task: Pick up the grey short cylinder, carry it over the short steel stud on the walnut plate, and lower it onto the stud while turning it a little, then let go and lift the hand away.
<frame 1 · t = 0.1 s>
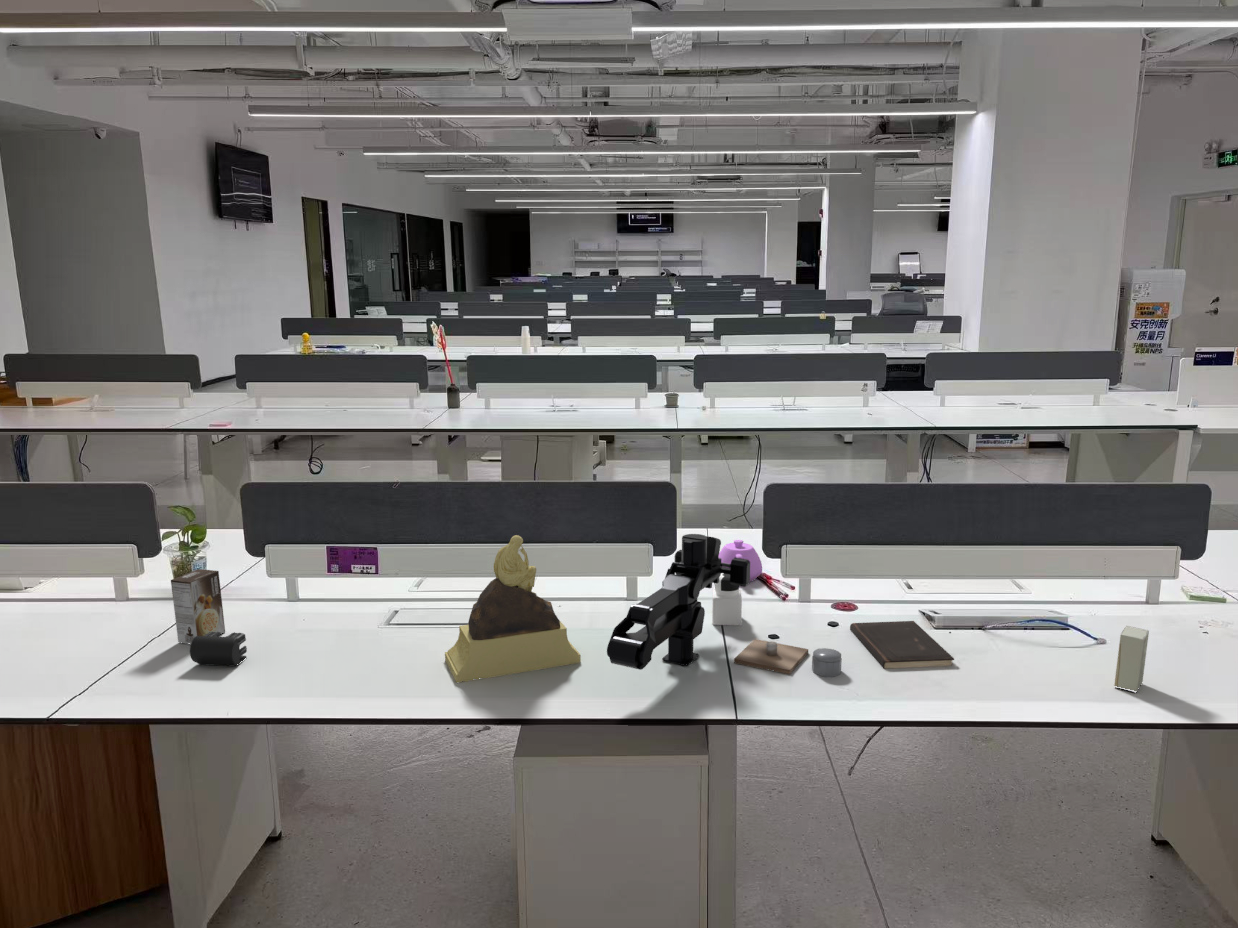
hand: (725, 558, 228), 17 cm above the table, tool horizontal, fingers open, 9 cm apart
teapot: (737, 575, 268), on the table
coffee box: (202, 638, 225), on the table
medicine bottle: (726, 621, 233), on the table
grey short cylinder: (826, 670, 203), on the table
stud plate: (771, 657, 210), on the table
seated figure statue: (512, 662, 209), on the table
end cap: (220, 664, 210), on the table
hardcover book: (899, 649, 216), on the table
skincare box: (1128, 687, 194), on the table
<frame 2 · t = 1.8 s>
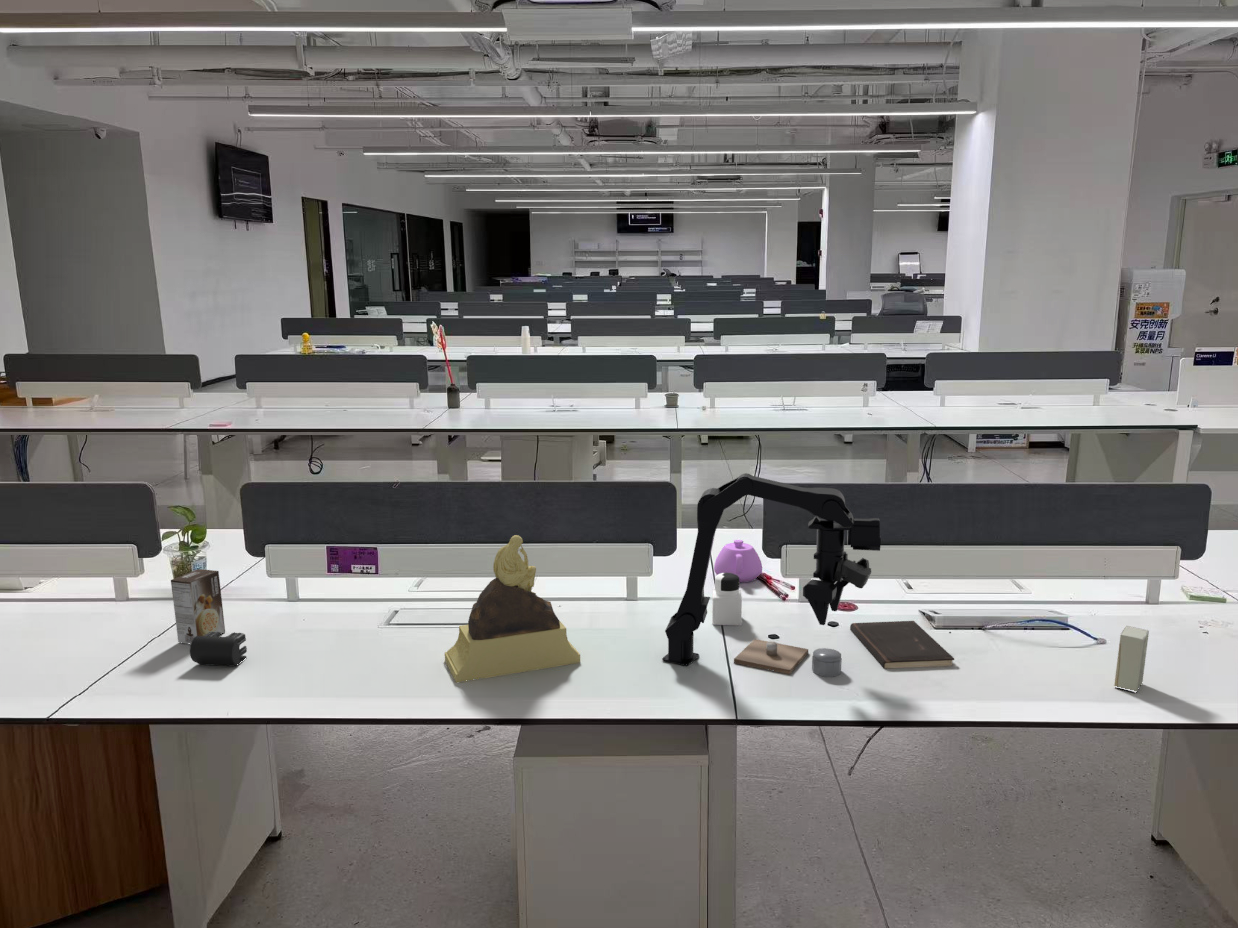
hand: (828, 617, 200), 12 cm above the table, tool pointing down, fingers open, 9 cm apart
nothing on the table moved.
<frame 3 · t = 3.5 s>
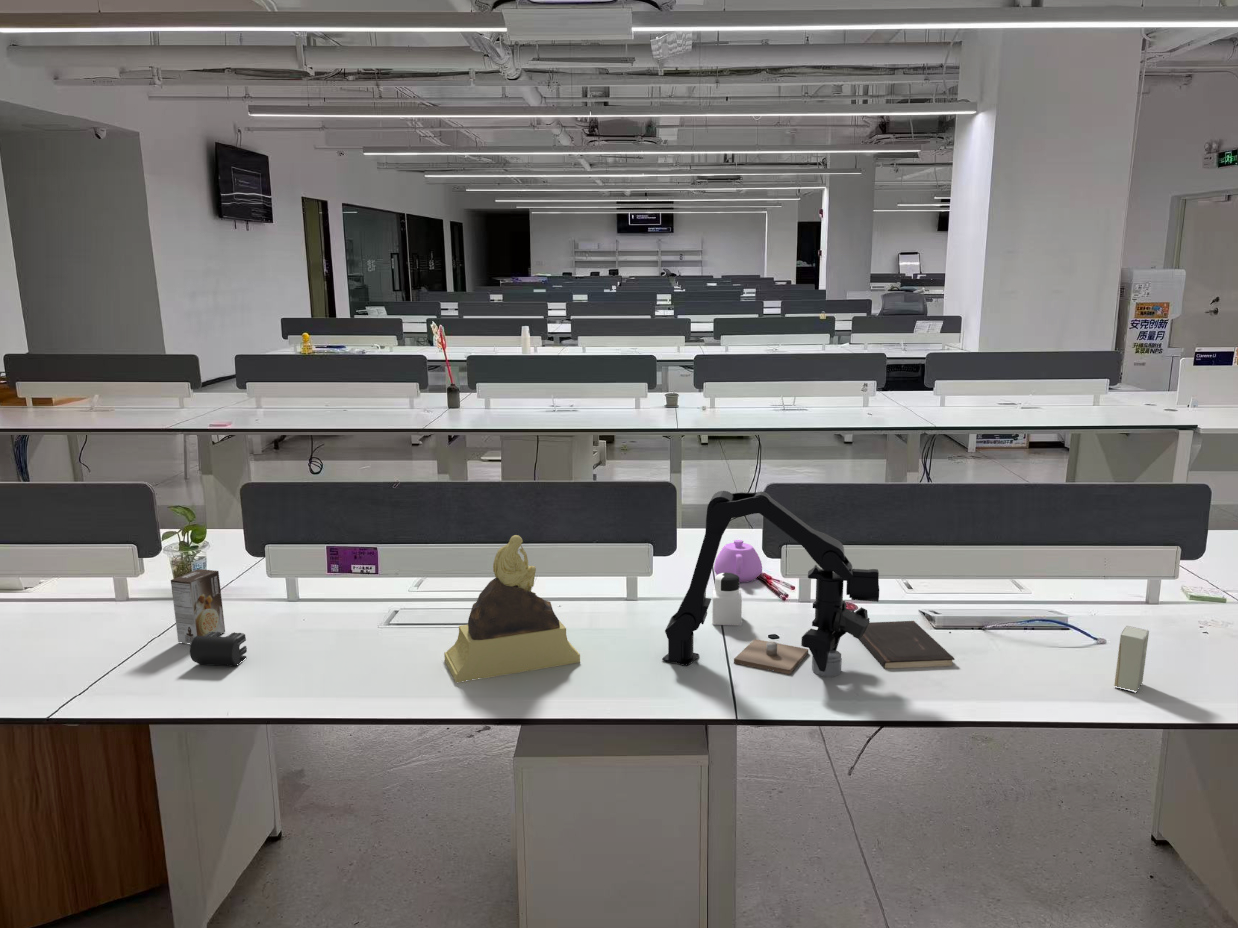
hand: (826, 665, 202), 1 cm above the table, tool pointing down, fingers closed on grey short cylinder, 6 cm apart
grey short cylinder: (826, 670, 203), on the table, touching gripper
everything else where it was.
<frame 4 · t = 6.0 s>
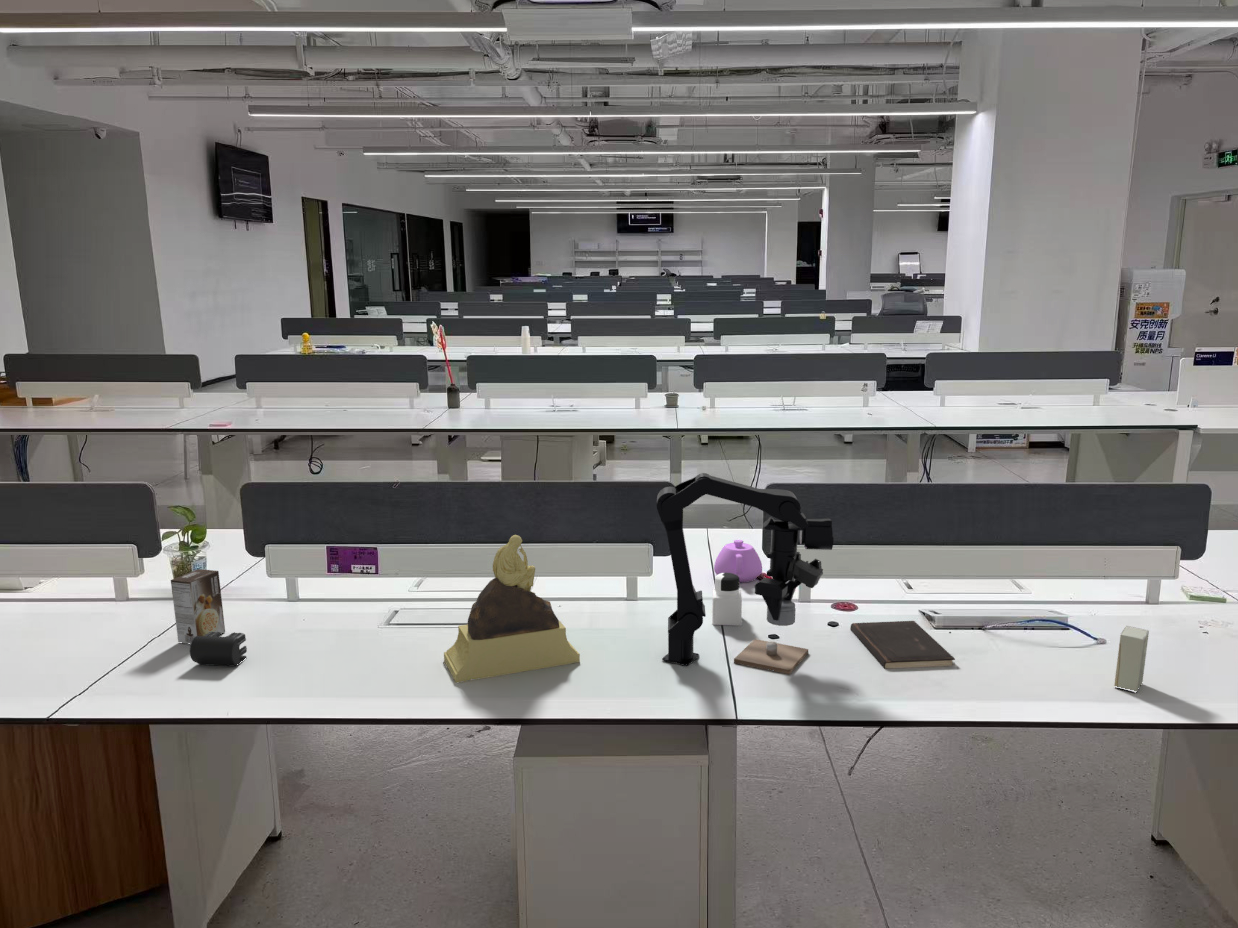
hand: (780, 615, 206), 11 cm above the table, tool pointing down, fingers closed on grey short cylinder, 6 cm apart
grey short cylinder: (780, 620, 207), point 9 cm above the table, touching gripper
everything else where it was.
when the fingers open (3 cm above the table, at t = 8.5 s): grey short cylinder stays where it is, resting on stud plate.
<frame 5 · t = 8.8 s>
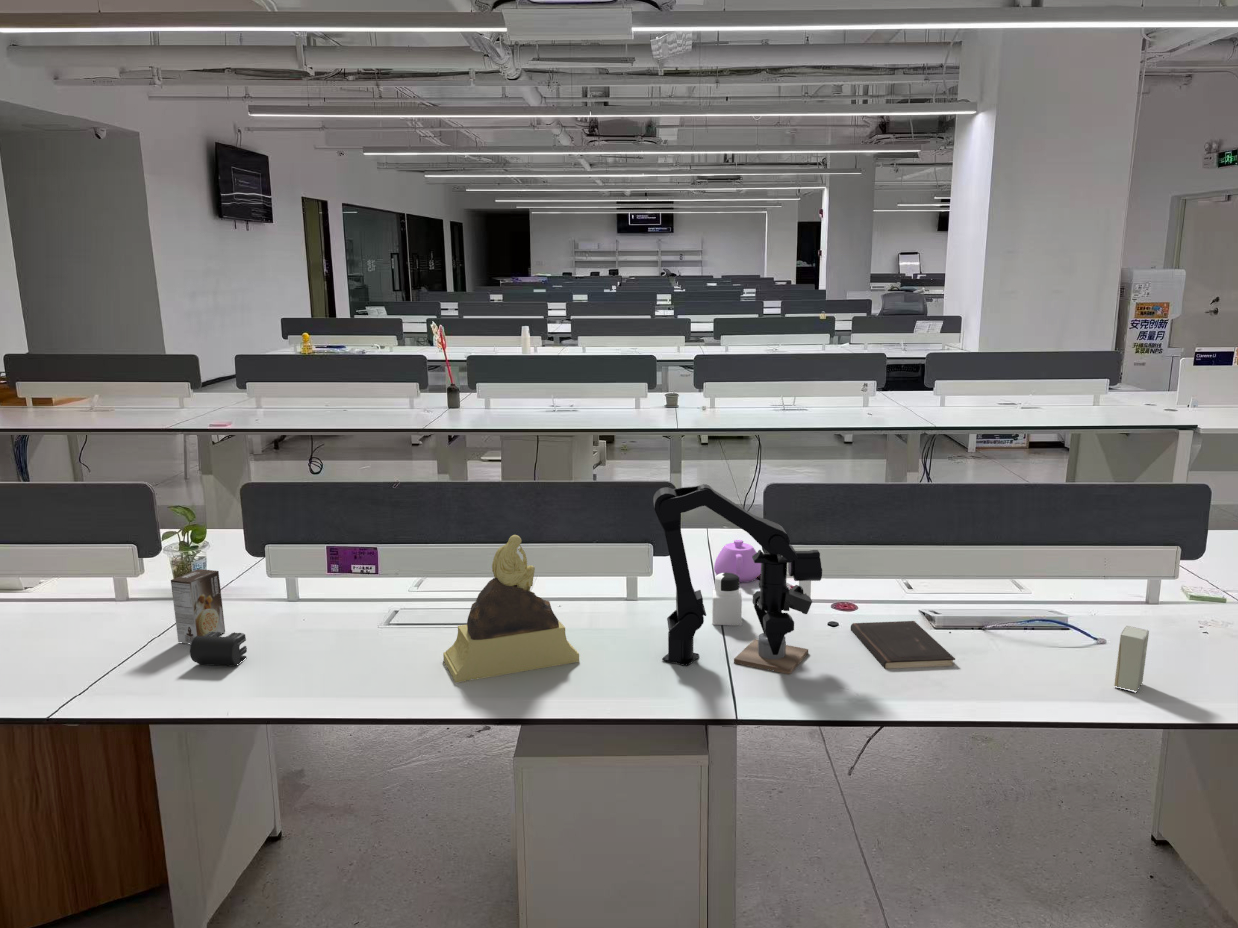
hand: (771, 646, 209), 3 cm above the table, tool pointing down, fingers open, 9 cm apart
grey short cylinder: (771, 653, 210), point 1 cm above the table, touching stud plate
everything else where it was.
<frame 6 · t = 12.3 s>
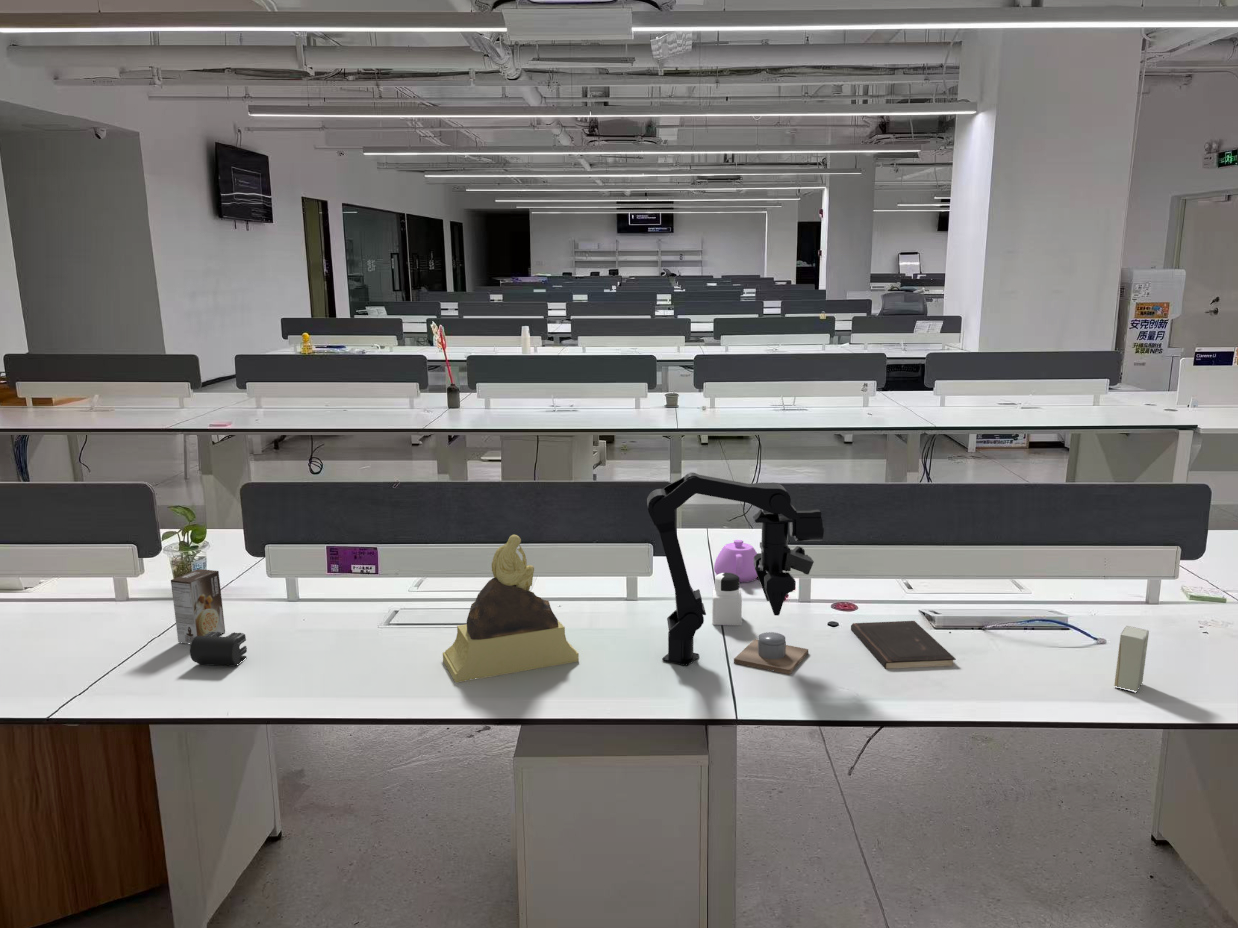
hand: (772, 607, 207), 12 cm above the table, tool pointing down, fingers open, 9 cm apart
nothing on the table moved.
at the end: grey short cylinder 0.0 cm off-centre on the stud plate, point 1.0 cm above the stud plate's base; grey short cylinder tilted 0°; the gripper is holding nothing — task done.
